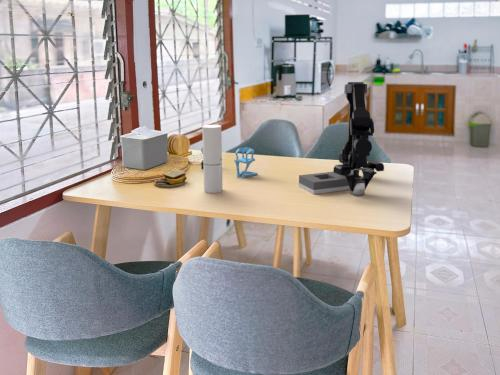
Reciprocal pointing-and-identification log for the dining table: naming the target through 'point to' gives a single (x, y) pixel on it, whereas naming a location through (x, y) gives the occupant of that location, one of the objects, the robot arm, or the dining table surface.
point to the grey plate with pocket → (323, 182)
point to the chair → (244, 160)
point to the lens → (359, 187)
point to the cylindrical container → (212, 158)
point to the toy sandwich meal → (172, 179)
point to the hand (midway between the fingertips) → (357, 190)
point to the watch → (202, 160)
